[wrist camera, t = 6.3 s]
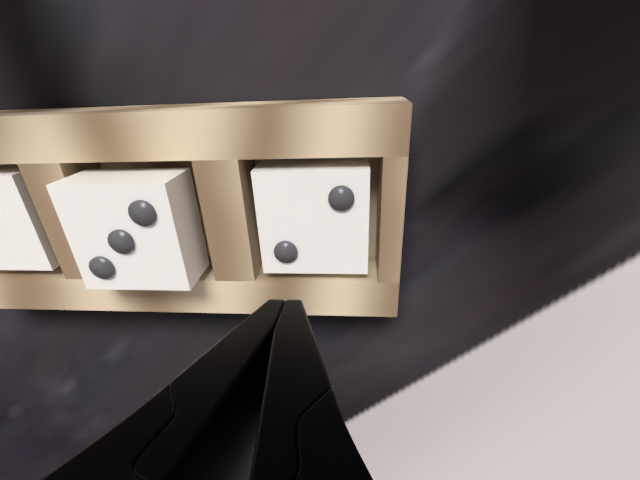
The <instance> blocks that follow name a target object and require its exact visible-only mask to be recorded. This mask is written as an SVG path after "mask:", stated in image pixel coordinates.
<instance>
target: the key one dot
mask: <svg viewBox="0 0 640 480" xmlns="http://www.w3.org/2000/svg"><path fill="white" fill-rule="evenodd" d="M59 266H60V265H59V262H58V260H57V258H56V255H55V253H54V251H53V248H52V246H51V244H50V241H49V239H48V236H47V234H46V232H45V229H44V227H43V225H42V222H41V220H40V217H39V215H38V213H37V210H36V208H35V206H34V203H33V201H32V198H31V196H30V194H29V191H28V189H27V187H26V184H25V182H24V179H23V177H22V175H21V172H20V170H19V168H18V165H17V164H0V270H37V271H53V270H55V269H56V268H57V267H59Z"/></svg>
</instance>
